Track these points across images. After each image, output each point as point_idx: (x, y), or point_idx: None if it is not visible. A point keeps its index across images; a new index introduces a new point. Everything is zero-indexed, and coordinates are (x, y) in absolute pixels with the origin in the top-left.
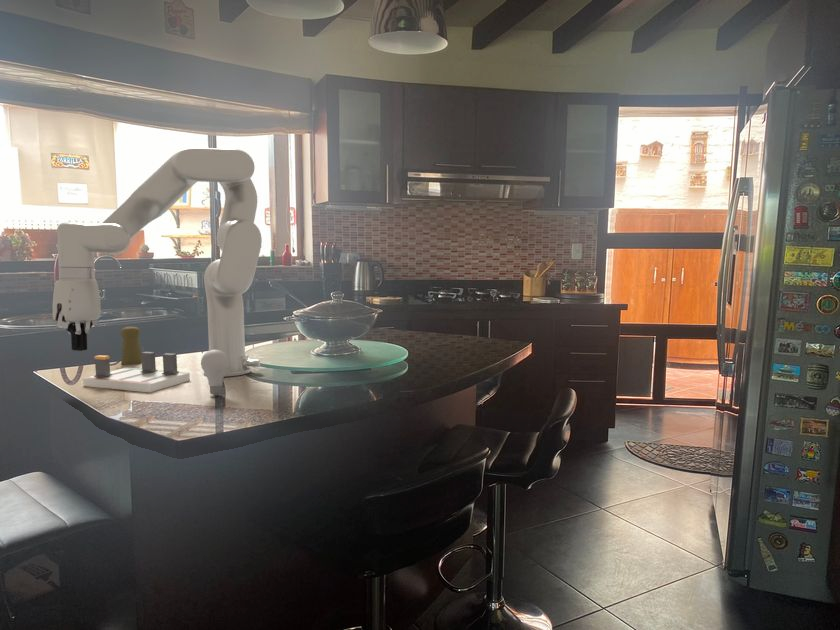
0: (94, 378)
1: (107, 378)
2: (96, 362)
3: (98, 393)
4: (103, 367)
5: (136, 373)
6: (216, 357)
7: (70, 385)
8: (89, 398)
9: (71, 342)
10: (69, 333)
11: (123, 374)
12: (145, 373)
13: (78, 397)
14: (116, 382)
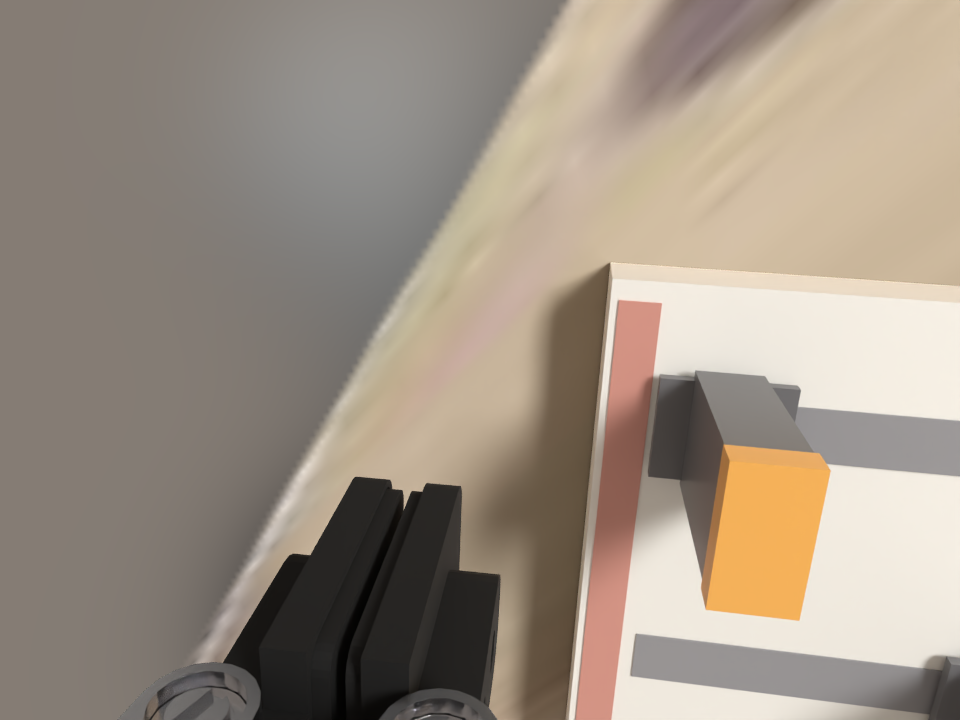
0: (619, 410)
1: (655, 518)
2: (715, 449)
3: None
4: (692, 519)
5: (922, 626)
6: None
7: (603, 112)
8: None
9: (268, 588)
10: (176, 684)
11: (857, 541)
12: (926, 704)
13: (286, 520)
14: (576, 648)
